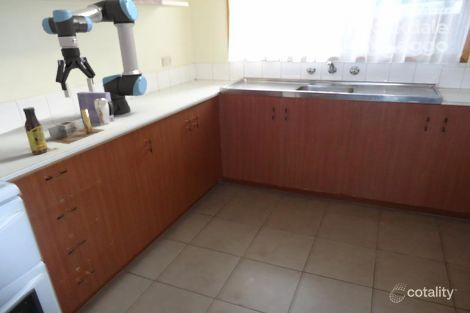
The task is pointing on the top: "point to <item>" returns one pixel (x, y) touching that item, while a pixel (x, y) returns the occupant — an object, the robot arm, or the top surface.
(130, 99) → the top surface
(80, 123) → the grey block
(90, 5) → the robot arm
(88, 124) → the hinge pin
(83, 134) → the walnut board
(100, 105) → the beer glass
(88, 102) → the cake pan box
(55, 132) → the grey rectangular block
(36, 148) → the sauce bottle
